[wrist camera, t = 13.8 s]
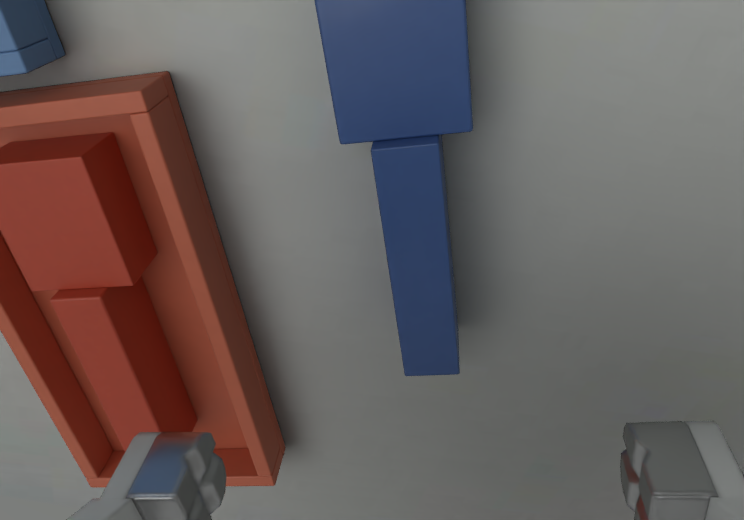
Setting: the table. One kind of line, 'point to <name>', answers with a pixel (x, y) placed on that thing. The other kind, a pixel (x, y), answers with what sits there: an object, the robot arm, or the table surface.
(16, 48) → the blue tray
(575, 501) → the table surface
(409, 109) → the blue stepped bar
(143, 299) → the red stepped bar
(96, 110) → the red tray
